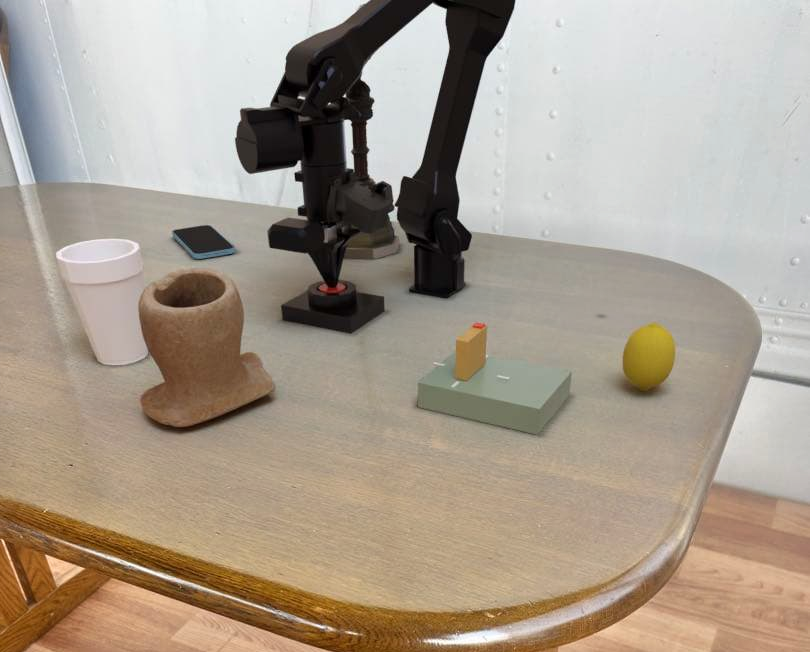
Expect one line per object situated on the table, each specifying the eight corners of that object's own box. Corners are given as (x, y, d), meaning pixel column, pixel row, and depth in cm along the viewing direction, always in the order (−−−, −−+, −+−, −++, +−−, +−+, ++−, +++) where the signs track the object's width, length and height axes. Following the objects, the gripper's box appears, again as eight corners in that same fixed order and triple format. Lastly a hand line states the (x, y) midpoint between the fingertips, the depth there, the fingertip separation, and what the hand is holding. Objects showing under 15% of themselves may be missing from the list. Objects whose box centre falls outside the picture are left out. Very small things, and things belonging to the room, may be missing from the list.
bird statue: (341, 273, 127) (324, 5, 106) (293, 254, 135) (268, 2, 114) (419, 250, 135) (418, -2, 114) (370, 234, 143) (360, -4, 122)
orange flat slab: (466, 381, 88) (467, 339, 85) (454, 378, 88) (455, 337, 85) (485, 364, 91) (487, 323, 88) (474, 361, 92) (475, 321, 89)
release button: (314, 301, 110) (313, 288, 109) (328, 293, 112) (328, 280, 111) (337, 305, 109) (336, 292, 107) (351, 297, 111) (350, 284, 110)
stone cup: (182, 450, 83) (152, 307, 74) (130, 410, 90) (98, 275, 81) (304, 404, 91) (290, 269, 82) (247, 370, 98) (229, 244, 89)
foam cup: (175, 345, 105) (155, 242, 97) (133, 374, 98) (108, 266, 90) (113, 337, 107) (88, 236, 99) (68, 365, 100) (38, 258, 92)
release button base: (282, 320, 111) (279, 291, 108) (318, 299, 117) (316, 272, 115) (351, 334, 107) (349, 304, 104) (384, 311, 113) (383, 283, 111)
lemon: (611, 381, 94) (621, 314, 89) (658, 379, 94) (670, 312, 90) (626, 403, 90) (637, 333, 85) (675, 400, 90) (689, 331, 85)
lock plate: (413, 406, 90) (412, 379, 88) (452, 371, 97) (452, 346, 95) (537, 435, 84) (539, 407, 82) (569, 396, 91) (572, 370, 89)
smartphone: (194, 255, 132) (170, 230, 143) (195, 261, 133) (171, 236, 143) (236, 248, 135) (209, 224, 145) (237, 254, 135) (210, 230, 146)
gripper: (338, 185, 91) (346, 319, 100) (416, 152, 104) (417, 274, 113) (257, 175, 95) (273, 305, 104) (342, 146, 108) (349, 263, 117)
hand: (332, 286), depth 109 cm, fingers closed, pressing on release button
